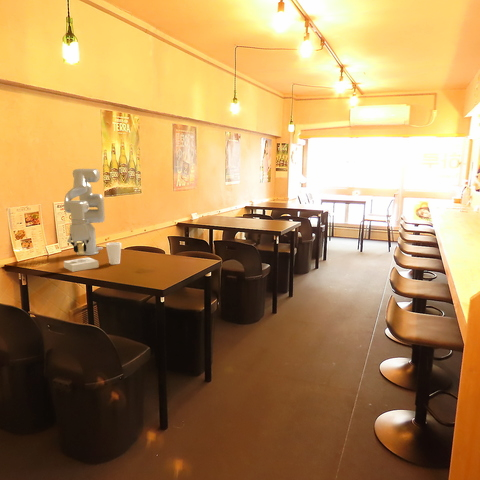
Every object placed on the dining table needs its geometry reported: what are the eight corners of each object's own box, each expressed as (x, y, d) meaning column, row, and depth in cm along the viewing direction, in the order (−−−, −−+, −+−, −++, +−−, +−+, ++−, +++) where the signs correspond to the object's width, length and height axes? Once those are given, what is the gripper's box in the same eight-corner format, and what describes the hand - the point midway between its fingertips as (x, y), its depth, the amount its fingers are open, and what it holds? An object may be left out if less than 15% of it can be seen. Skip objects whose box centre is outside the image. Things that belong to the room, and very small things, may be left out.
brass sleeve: (82, 253, 252) (81, 242, 251) (85, 254, 249) (84, 243, 248) (75, 254, 249) (74, 243, 248) (78, 255, 246) (77, 244, 245)
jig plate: (89, 263, 261) (89, 257, 261) (98, 267, 251) (98, 261, 251) (64, 267, 251) (63, 261, 250) (72, 271, 241) (72, 265, 240)
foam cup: (125, 262, 264) (124, 242, 261) (115, 265, 255) (114, 245, 253) (114, 261, 268) (112, 241, 265) (103, 264, 259) (102, 244, 257)
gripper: (89, 220, 254) (91, 249, 257) (61, 222, 243) (64, 252, 246) (94, 221, 249) (96, 250, 252) (66, 224, 238) (68, 254, 241)
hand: (80, 251), depth 249 cm, fingers closed on brass sleeve, 4 cm apart
